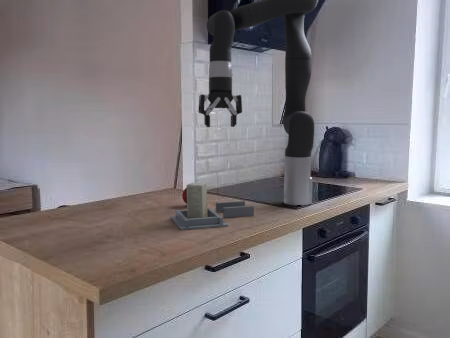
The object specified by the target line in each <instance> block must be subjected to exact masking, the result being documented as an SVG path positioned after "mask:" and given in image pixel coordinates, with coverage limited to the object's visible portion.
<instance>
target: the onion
mask: <svg viewBox="0 0 450 338" xmlns="http://www.w3.org/2000/svg"><path fill="white" fill-rule="evenodd" d="M182 200H183V202H184V203H185V204H186V205H187V187H185V188H184V189H183V191H182Z"/></svg>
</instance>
